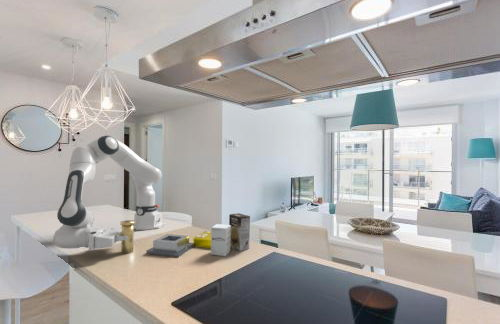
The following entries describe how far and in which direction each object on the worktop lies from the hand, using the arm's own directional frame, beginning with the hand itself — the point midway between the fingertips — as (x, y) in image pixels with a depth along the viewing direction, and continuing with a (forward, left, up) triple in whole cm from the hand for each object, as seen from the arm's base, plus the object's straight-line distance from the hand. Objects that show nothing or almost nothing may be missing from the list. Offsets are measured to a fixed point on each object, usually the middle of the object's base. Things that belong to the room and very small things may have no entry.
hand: (129, 235), depth 118 cm
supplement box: (-10, +41, -8) cm, 43 cm away
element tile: (-23, +32, -8) cm, 40 cm away
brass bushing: (0, -1, -8) cm, 8 cm away
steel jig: (-8, +17, -8) cm, 20 cm away
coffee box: (-20, +47, -8) cm, 52 cm away
